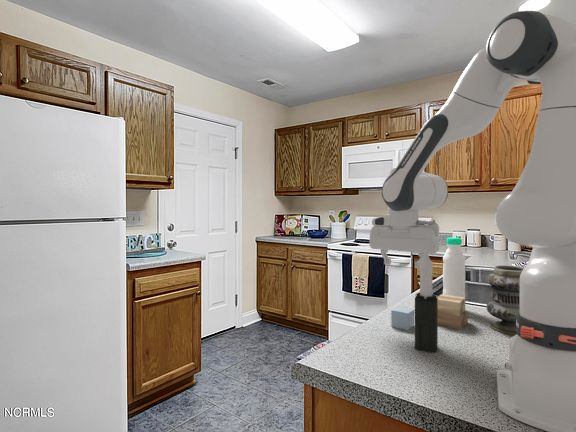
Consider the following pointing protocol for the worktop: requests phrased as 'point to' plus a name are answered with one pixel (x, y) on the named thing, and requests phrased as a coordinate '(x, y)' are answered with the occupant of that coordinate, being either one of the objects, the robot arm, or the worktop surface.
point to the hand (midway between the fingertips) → (402, 266)
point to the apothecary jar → (505, 297)
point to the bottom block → (453, 320)
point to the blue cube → (402, 318)
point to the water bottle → (454, 269)
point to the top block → (451, 305)
